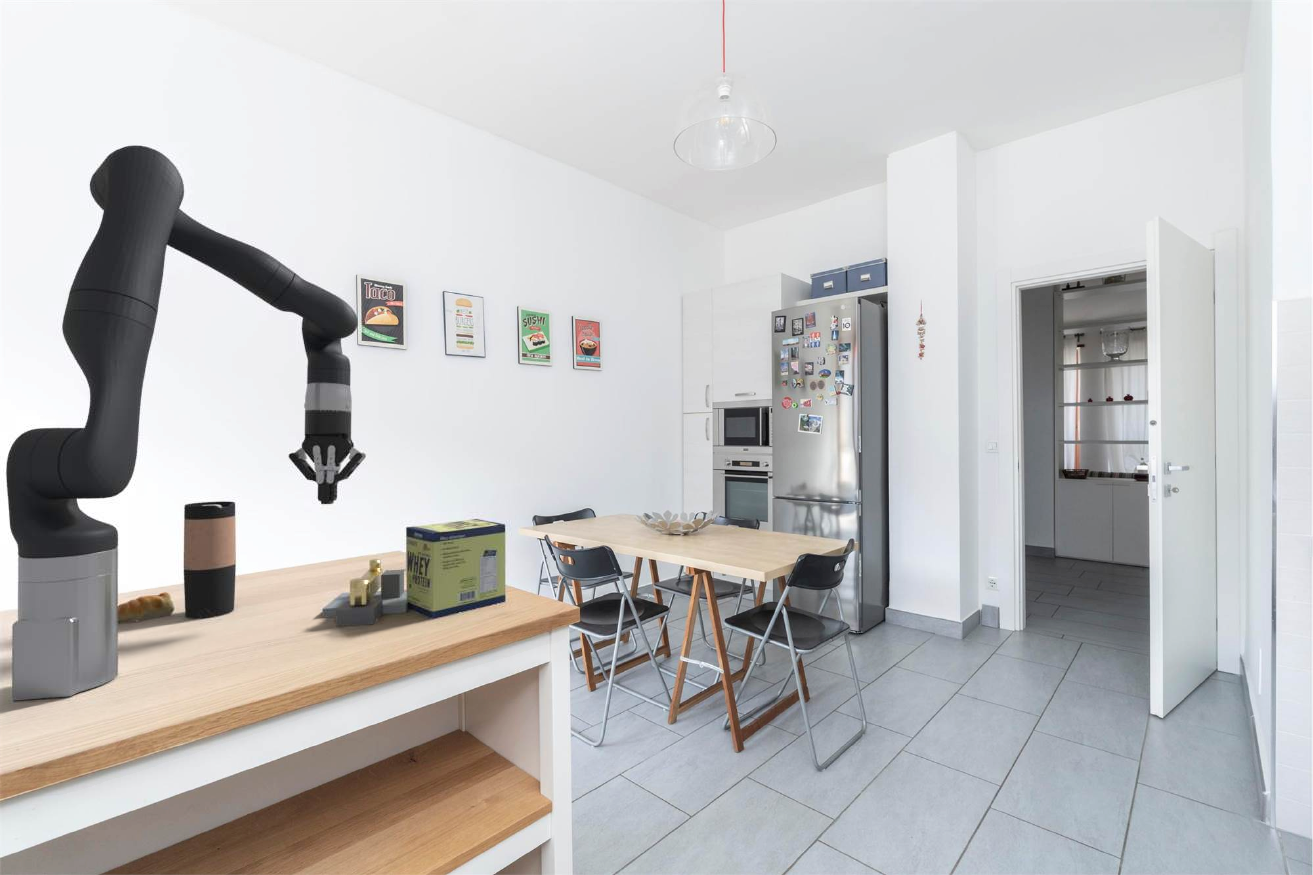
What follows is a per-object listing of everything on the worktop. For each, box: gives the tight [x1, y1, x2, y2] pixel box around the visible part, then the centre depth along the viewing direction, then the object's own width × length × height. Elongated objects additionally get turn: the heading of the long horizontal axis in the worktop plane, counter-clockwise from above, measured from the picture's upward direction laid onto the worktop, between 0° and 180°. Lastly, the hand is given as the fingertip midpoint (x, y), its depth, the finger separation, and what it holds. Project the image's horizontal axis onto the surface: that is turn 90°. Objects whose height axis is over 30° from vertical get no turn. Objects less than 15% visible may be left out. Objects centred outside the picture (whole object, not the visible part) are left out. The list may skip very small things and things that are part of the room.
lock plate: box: [322, 569, 410, 627], centre depth 110 cm, size 17×14×6 cm
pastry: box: [118, 592, 175, 624], centre depth 106 cm, size 9×7×4 cm
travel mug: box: [183, 500, 237, 620], centre depth 108 cm, size 8×8×20 cm
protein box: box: [405, 518, 507, 620], centre depth 114 cm, size 10×16×16 cm
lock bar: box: [349, 558, 384, 606], centre depth 110 cm, size 15×3×5 cm, turn 14°
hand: (327, 503), depth 109 cm, fingers closed
